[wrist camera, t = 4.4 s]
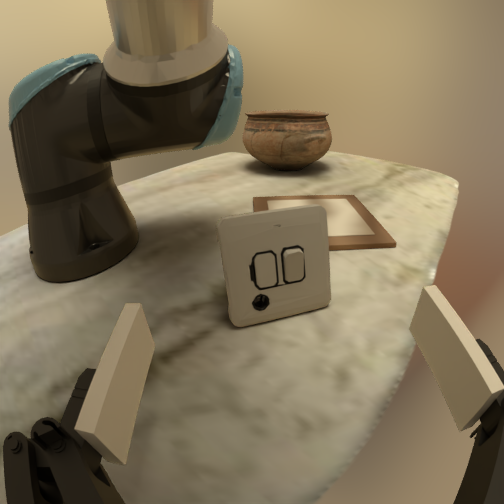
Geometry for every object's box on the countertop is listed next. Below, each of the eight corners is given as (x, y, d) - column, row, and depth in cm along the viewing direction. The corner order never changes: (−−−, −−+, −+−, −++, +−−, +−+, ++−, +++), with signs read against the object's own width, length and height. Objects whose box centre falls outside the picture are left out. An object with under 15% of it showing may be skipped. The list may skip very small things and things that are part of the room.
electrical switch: (232, 331, 22) (219, 227, 19) (221, 300, 26) (209, 208, 23) (331, 308, 24) (337, 210, 21) (308, 282, 28) (309, 196, 25)
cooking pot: (227, 161, 71) (224, 112, 65) (294, 153, 77) (293, 108, 71) (276, 188, 51) (275, 117, 45) (358, 176, 57) (361, 117, 51)
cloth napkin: (256, 253, 32) (256, 247, 32) (253, 200, 46) (253, 196, 46) (395, 247, 32) (396, 241, 32) (353, 198, 46) (353, 194, 46)
